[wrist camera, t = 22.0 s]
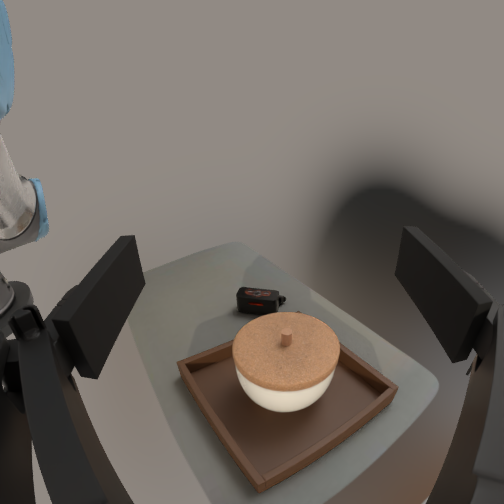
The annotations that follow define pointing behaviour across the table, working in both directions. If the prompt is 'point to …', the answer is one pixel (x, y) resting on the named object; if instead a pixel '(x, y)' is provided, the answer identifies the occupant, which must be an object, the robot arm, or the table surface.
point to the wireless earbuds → (258, 301)
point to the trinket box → (285, 360)
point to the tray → (282, 414)
